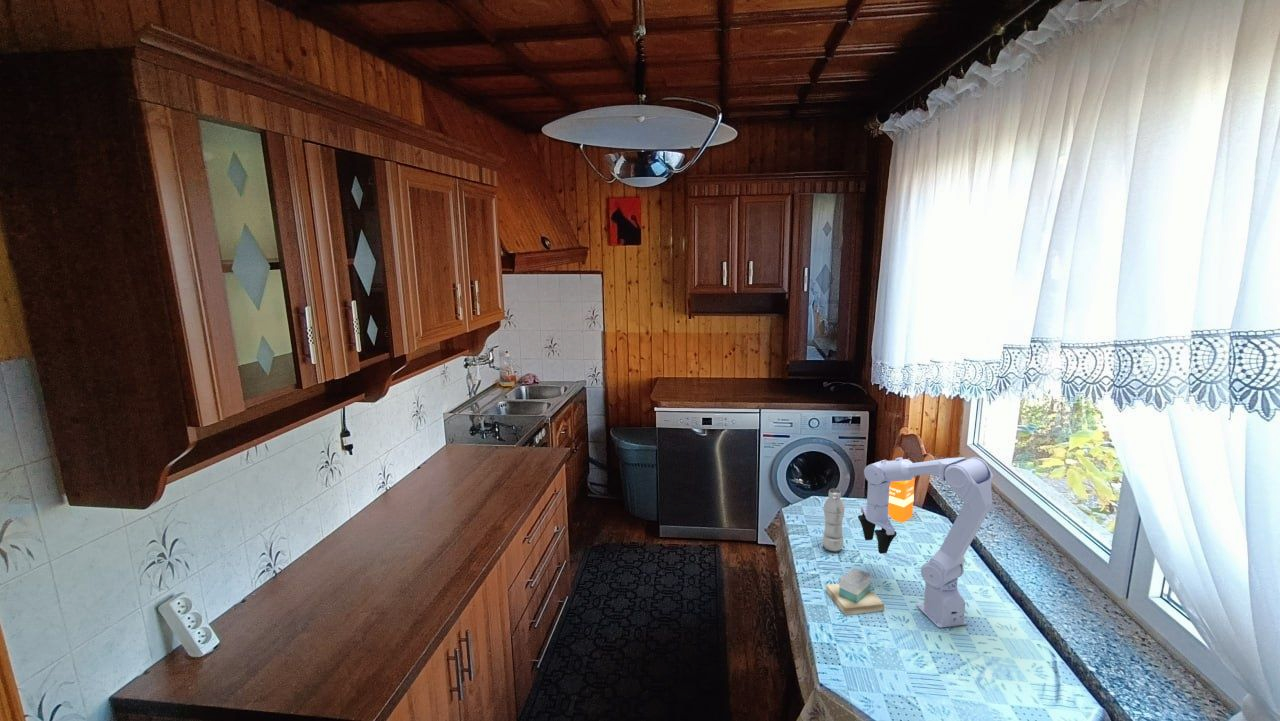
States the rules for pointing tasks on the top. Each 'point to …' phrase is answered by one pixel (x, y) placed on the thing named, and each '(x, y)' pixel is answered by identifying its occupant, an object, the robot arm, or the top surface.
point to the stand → (848, 607)
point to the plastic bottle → (833, 521)
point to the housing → (855, 585)
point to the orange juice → (901, 500)
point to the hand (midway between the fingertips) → (875, 546)
